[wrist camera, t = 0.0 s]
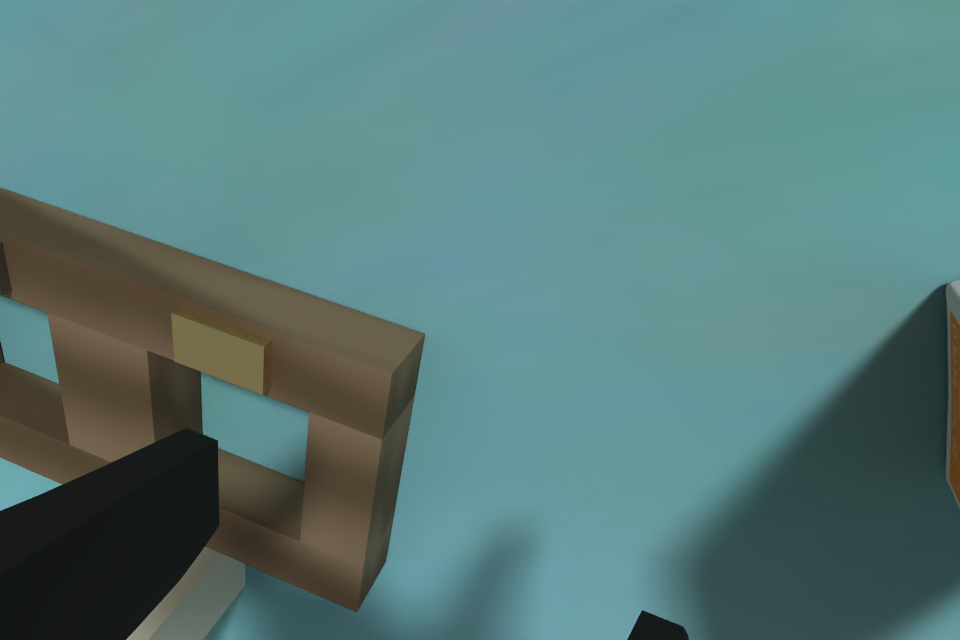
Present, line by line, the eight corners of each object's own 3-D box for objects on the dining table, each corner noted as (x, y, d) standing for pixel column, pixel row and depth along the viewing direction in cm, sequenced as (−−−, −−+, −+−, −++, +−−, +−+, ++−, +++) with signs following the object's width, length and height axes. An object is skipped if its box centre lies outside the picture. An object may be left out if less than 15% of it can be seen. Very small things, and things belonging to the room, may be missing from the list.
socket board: (385, 561, 26) (356, 612, 24) (-30, 388, 30) (-87, 419, 28) (425, 333, 21) (391, 373, 19) (-91, 156, 25) (-167, 173, 23)
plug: (245, 585, 30) (150, 707, 25) (171, 553, 31) (65, 665, 26) (245, 526, 28) (142, 645, 23) (167, 493, 29) (50, 601, 24)
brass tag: (270, 388, 21) (262, 395, 20) (182, 355, 21) (174, 361, 21) (271, 340, 20) (263, 346, 19) (180, 307, 20) (171, 313, 20)
